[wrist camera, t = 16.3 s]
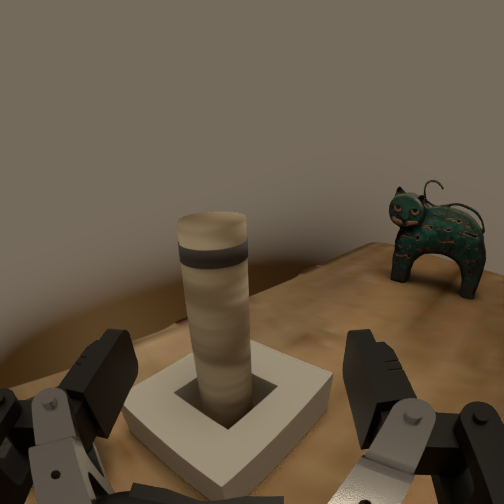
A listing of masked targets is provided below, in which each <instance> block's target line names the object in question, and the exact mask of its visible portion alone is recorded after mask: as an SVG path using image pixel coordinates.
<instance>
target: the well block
mask: <svg viewBox="0 0 504 504" xmlns="http://www.w3.org/2000/svg"><path fill="white" fill-rule="evenodd" d="M250 344H251V371H252V396H253V409H252V410H251V411H250V412H249V413H248V414H246V415H245V416H244V417H243V418H242V419H241V420H239V421H238V422H237V423H236V424H235V425H233V426H232V427H231V428H230V429H229V430H227V429H226V428H224V427H223V426H221V425H220V424H218V423H216V422H215V421H213V420H212V419H210V418H209V417H207V416H206V415H204V414H203V412H204V411H203V406H202V401H201V396H200V390H199V385H198V379H197V373H196V367H195V361H194V355H193V352H192V353H190V354H189V355H187V356H185V357H184V358H182V359H180V360H179V361H177V362H175V363H174V364H172V365H170V366H168V367H167V368H165V369H163V370H162V371H160V372H158V373H157V374H155V375H153V376H151V377H150V378H148V379H146V380H144V381H143V382H141V383H139V384H137V385H136V386H134V387H132V388H131V390H130V392H129V394H128V396H127V398H126V400H125V403H124V405H123V407H122V409H121V411H122V413H123V416H124V418H125V420H126V423H127V425H128V427H129V429H130V431H131V432H132V433H133V434H134V435H135V436H136V437H137V438H138V439H139V440H140V441H141V442H142V443H143V444H144V445H145V446H146V447H147V448H148V449H149V450H150V451H151V452H152V453H154V454H155V455H156V456H157V457H158V458H159V459H160V460H161V461H162V462H163V463H165V464H166V465H167V466H168V467H169V468H170V469H172V470H173V471H174V472H175V473H176V474H177V475H179V476H180V477H181V478H182V479H183V480H185V481H186V482H187V483H188V484H190V485H191V486H192V487H193V488H195V489H196V490H197V491H199V492H200V493H201V494H203V495H204V496H205V497H207V498H208V499H209V500H211V501H216V500H224V499H231V498H237V497H243V496H247V495H248V494H249V493H250V492H252V491H253V490H254V489H255V488H256V487H257V486H258V485H259V484H260V483H261V482H262V481H263V480H264V479H265V478H266V477H267V476H268V475H269V474H270V473H271V472H272V471H273V470H274V469H275V468H276V467H277V465H278V464H279V463H280V462H281V461H282V460H283V459H284V458H285V457H286V456H287V455H288V454H289V453H290V452H291V450H292V449H293V448H294V447H295V446H296V445H297V444H298V443H299V442H300V440H301V439H302V438H303V437H304V436H305V435H306V434H307V432H308V431H309V430H310V429H311V428H312V426H313V425H314V424H315V423H316V422H317V420H318V419H319V418H320V417H321V416H322V414H323V413H324V412H325V411H326V409H327V407H328V402H329V396H330V391H331V385H332V379H333V373H332V372H329V371H327V370H324V369H321V368H319V367H316V366H314V365H311V364H308V363H306V362H303V361H301V360H298V359H296V358H293V357H291V356H288V355H286V354H283V353H281V352H279V351H276V350H274V349H271V348H269V347H267V346H264V345H262V344H260V343H257V342H255V341H253V340H250Z"/></svg>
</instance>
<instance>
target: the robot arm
mask: <svg viewBox="0 0 504 504" xmlns="http://www.w3.org/2000/svg"><path fill="white" fill-rule="evenodd" d="M137 375H138V361H137V358H136V355H135V351H134V348H133V345H132V341H131V338H130V334H129V332H128V331H127V330H120V329H107V330H106V331H105V333H104V334H103V336H102V337H101V338H100V340H96V341H95V342H93V343H92V344H90V345H89V346H88V347H86V349H85V350H84V351H83V353H82V354H81V356H80V358H78V360H77V361H76V362H75V365H73V366H72V368H71V369H70V371H69V372H68V373H67V375H66V376H65V378H64V379H63V380H62V382H61V383H60V385H59V386H58V387H57V388H48V389H45V390H42V391H41V392H39V393H38V394H37V395H36V396H35V397H34V399H33V400H18V399H17V398H16V396H15V394H14V393H13V391H11V390H10V389H5V388H3V389H0V446H1V445H2V443H3V441H4V439H5V438H6V437H7V439H8V440H9V441H10V443H11V444H12V445H11V447H10V449H9V451H8V452H7V454H6V456H5V458H4V460H3V462H2V464H1V465H0V504H24V503H25V501H26V499H27V496H28V494H29V492H30V489H31V487H32V485H33V484H34V489H35V494H36V499H37V503H38V504H284V496H274V497H254V496H243V497H237V498H231V499H224V500H216V501H208V502H204V501H199V500H196V499H193V498H190V497H187V496H184V495H182V494H179V493H176V492H174V491H171V490H169V489H165V488H159V487H153V486H148V485H143V484H138V483H133V484H132V487H131V490H130V491H125V492H117V493H115V491H114V490H113V488H112V486H111V484H110V482H109V480H108V478H107V475H106V472H105V470H104V467H103V465H102V462H101V459H100V456H99V454H98V451H97V448H96V445H95V444H94V442H93V441H94V439H95V437H96V436H98V437H102V438H106V439H108V437H109V435H110V433H111V430H112V428H113V426H114V424H115V422H116V420H117V417H118V415H119V413H120V411H121V409H122V407H123V405H124V403H125V400H126V398H127V396H128V394H129V392H130V390H131V388H132V386H133V384H134V382H135V380H136V378H137ZM343 379H344V384H345V387H346V391H347V395H348V399H349V403H350V407H351V411H352V415H353V419H354V423H355V427H356V431H357V435H358V440H359V444H360V448H361V450H363V449H368V451H367V452H366V454H365V455H363V456H362V457H361V458H360V459H359V461H358V462H357V463H356V465H355V466H354V468H353V469H352V471H351V472H350V474H349V475H348V477H347V478H346V480H345V481H344V482H343V484H342V485H341V486H340V488H339V489H338V491H337V492H336V493H335V495H334V496H333V497H332V499H331V500H330V501H329V502H328V504H401V503H402V501H403V499H404V497H405V495H406V493H407V491H408V489H409V487H410V485H411V483H412V481H413V479H414V476H415V475H431V477H432V481H433V485H434V489H435V493H436V497H437V501H438V504H504V424H503V423H502V421H501V419H500V417H499V415H498V413H497V412H496V410H495V409H494V408H493V407H492V406H491V405H489V404H487V403H484V402H471V403H469V404H467V405H466V406H464V408H463V409H462V411H461V413H460V414H452V413H437V412H435V411H434V409H433V408H432V406H431V405H430V404H428V403H427V402H425V401H423V400H420V399H417V397H416V395H415V393H414V391H413V389H412V386H411V384H410V382H409V380H408V378H407V376H406V374H405V372H404V370H402V366H401V364H400V362H398V358H397V356H396V354H395V352H394V350H393V349H392V348H391V347H389V346H388V345H387V344H386V343H385V342H376V341H375V339H374V337H373V335H372V332H371V331H370V329H364V330H350V331H348V334H347V340H346V347H345V354H344V361H343Z"/></svg>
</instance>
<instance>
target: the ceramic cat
mask: <svg viewBox="0 0 504 504" xmlns="http://www.w3.org/2000/svg"><path fill="white" fill-rule="evenodd" d="M430 182H436V183H438V184H439V185H440V186H441V187H442V189H443V186H442V185H441V184H440V182H438V181H436V180H430V181H428V182H427V183H426V185H425V188H424V195H420V196H419V195H417V194H415V193H406V192H405V191H404V190H403V189H402V188H401V187H399V188H397V191H396V194H395V197H394V198H393V200H392V201H391V203H390V206H389V214H390V218H391V220H392V221H393V223H395V224H396V225H398V226H399V227H400V230H399V232H398V234H397V237H396V240H395V250H394V254H393V258H392V273H391V280H394V281H397V282H401V283H404V282H406V281H407V280H408V278H409V277H410V272H411V268H412V265H413V263H414V261H415V260H416V259H417V258H419V257H420V256H421V255H423V254H432V253H433V254H442V255H445V256H448V257H449V258H451V259H453V260H454V261H455V262H456V263H457V264H458V265H459V267H460V271H461V278H462V282H461V289H460V296H461V297H463V298H468V299H473V298H474V295H475V292H476V290H477V287H478V284H479V281H480V279H481V276H482V273H483V269H484V265H485V262H486V250H485V244H484V237H483V233H484V232H485V229H484V224H483V220H482V218H481V216H480V215H479V213H478V212H477V211H476V210H474V209H473V208H471V207H469V206H467V205H463V204H459V203H453V204H448V205H441V206H436V205H434V204H432V203H430V202H429V201H427V199H426V194H425V189H426V186H427V184H428V183H430ZM424 198H425V199H424ZM427 203H428V204H430V205H431V206H432V207H430V206H429V205H428V204H427ZM453 205H459V206H462V207H465V208H467V209H469V210H471V211H473V212H474V213H475V214H476V215H477V216H478V217H479V219H480V220H481V222H482V226H483V230H482V229H481V228H480V226H479V225H478V223H477V222H476V220H475V219H474V218H473V217H472V216H471V215H469V214H468V213H466V212H464V211H461V210H459V209H455V208H451V207H450V206H453Z"/></svg>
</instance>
